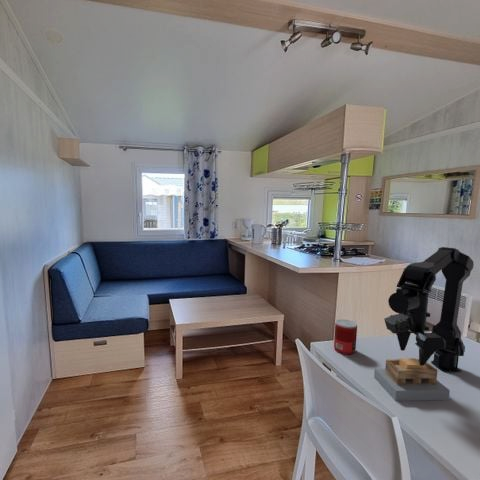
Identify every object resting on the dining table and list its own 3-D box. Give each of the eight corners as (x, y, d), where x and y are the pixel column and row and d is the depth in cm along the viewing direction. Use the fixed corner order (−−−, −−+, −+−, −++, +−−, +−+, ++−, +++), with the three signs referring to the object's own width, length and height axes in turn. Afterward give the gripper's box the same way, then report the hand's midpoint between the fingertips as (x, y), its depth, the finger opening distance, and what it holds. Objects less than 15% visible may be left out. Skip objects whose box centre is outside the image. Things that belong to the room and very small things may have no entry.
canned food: (357, 356, 112) (359, 327, 111) (334, 353, 113) (336, 325, 112) (353, 346, 119) (355, 320, 118) (332, 344, 121) (334, 318, 120)
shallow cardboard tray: (421, 372, 95) (422, 359, 95) (436, 384, 89) (437, 370, 88) (385, 372, 95) (386, 359, 94) (397, 385, 88) (398, 370, 88)
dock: (421, 376, 98) (422, 368, 98) (448, 399, 86) (449, 390, 86) (374, 377, 97) (374, 368, 97) (395, 400, 86) (396, 390, 85)
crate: (414, 364, 93) (415, 358, 93) (422, 371, 90) (423, 364, 89) (399, 364, 93) (399, 358, 93) (406, 371, 89) (407, 364, 89)
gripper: (374, 298, 98) (370, 343, 100) (409, 318, 80) (404, 374, 81) (406, 298, 99) (402, 343, 100) (449, 318, 80) (443, 374, 82)
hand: (411, 357), depth 91 cm, fingers open, 9 cm apart
